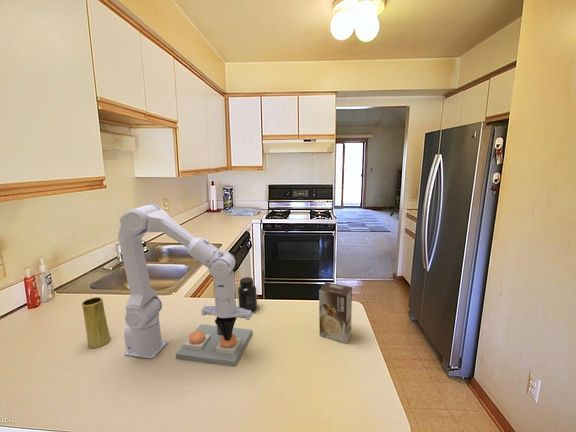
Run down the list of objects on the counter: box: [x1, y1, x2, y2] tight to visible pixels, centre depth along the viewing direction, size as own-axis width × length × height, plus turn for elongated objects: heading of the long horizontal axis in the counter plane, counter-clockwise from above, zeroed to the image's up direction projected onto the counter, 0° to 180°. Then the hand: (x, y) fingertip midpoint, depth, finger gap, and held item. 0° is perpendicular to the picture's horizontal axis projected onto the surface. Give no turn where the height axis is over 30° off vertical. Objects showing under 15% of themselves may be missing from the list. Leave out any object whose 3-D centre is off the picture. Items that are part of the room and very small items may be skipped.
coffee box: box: [318, 282, 353, 344], centre depth 91 cm, size 9×6×16 cm
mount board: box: [174, 323, 253, 368], centre depth 88 cm, size 18×15×3 cm
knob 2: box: [220, 334, 236, 348], centre depth 84 cm, size 5×5×4 cm
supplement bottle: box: [237, 276, 258, 314], centre depth 107 cm, size 7×7×12 cm
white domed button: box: [216, 325, 223, 335], centre depth 91 cm, size 3×3×4 cm
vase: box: [81, 296, 111, 349], centre depth 89 cm, size 6×6×14 cm
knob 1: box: [188, 330, 205, 344], centre depth 87 cm, size 5×5×4 cm
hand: (228, 338), depth 84 cm, fingers closed, pressing on knob 2
